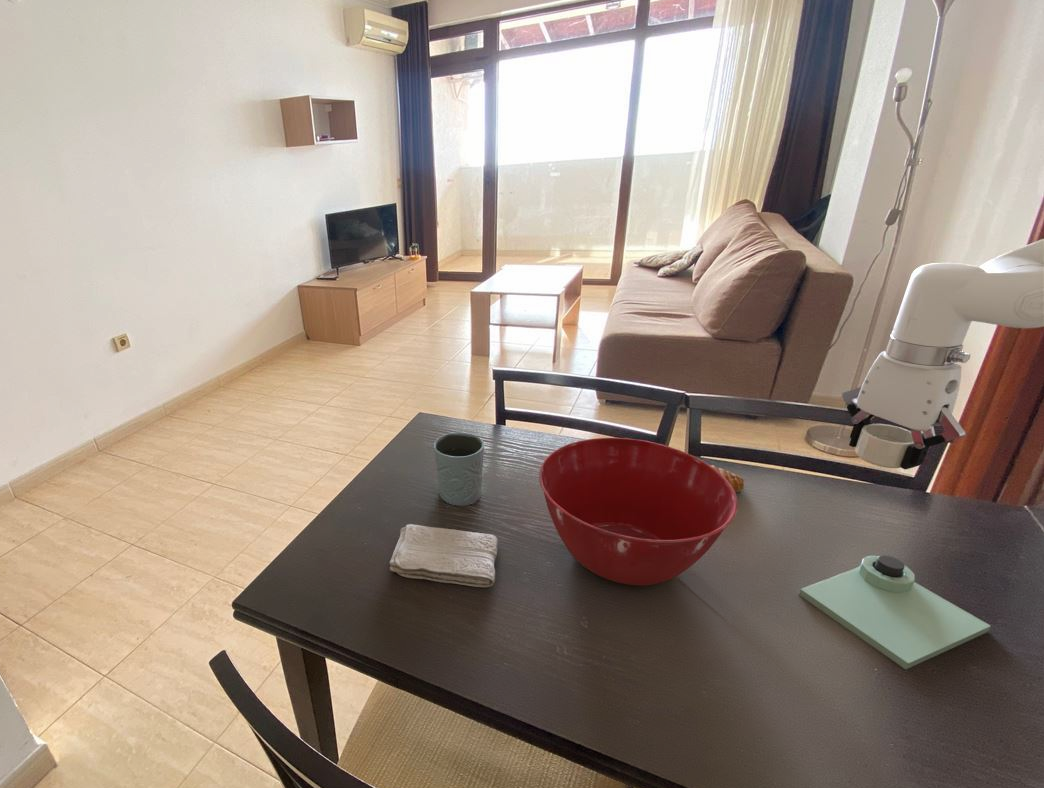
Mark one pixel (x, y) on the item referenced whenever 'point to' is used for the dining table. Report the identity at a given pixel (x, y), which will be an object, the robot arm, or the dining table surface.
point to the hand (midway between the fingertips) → (882, 454)
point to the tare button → (889, 566)
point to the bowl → (883, 444)
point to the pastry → (732, 479)
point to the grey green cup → (459, 467)
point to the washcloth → (445, 556)
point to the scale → (894, 613)
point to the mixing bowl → (635, 507)
